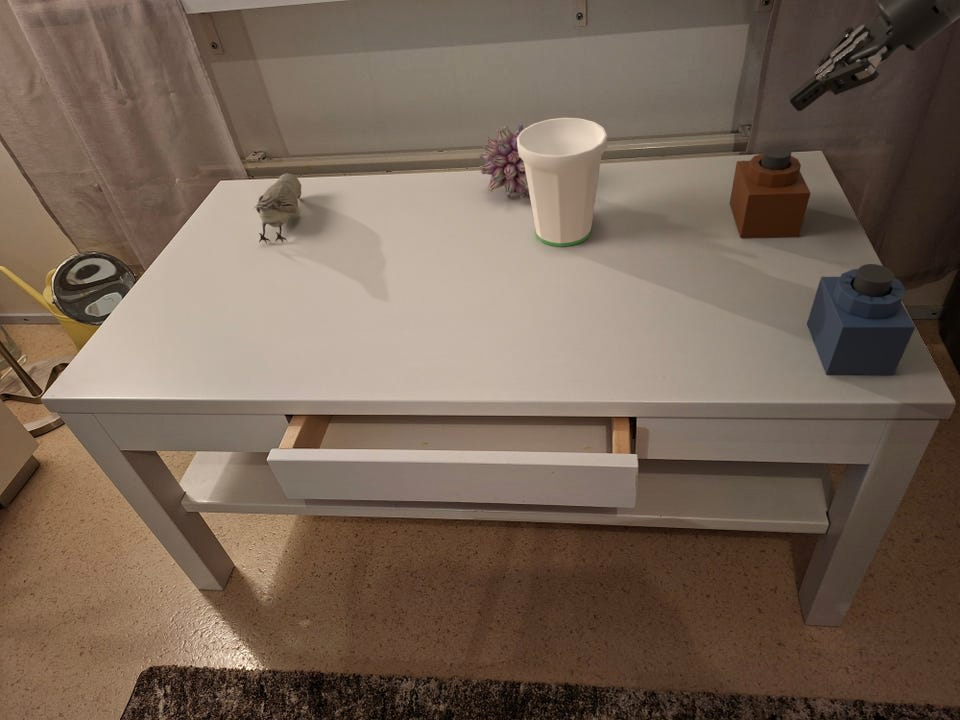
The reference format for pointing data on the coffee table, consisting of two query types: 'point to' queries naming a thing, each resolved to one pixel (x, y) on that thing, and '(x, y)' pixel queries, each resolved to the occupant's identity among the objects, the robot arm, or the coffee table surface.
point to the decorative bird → (279, 203)
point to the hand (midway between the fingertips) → (793, 104)
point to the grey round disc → (776, 158)
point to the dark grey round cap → (873, 280)
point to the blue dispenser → (859, 327)
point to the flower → (505, 162)
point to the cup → (562, 176)
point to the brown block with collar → (768, 199)
